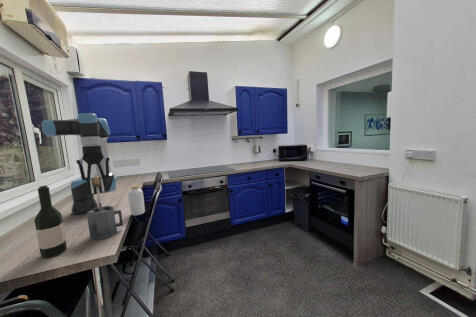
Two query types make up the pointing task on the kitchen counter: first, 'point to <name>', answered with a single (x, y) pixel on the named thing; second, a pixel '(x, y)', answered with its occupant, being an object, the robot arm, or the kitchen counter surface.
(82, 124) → the robot arm
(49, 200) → the wine bottle
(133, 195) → the white rounded cylinder
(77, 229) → the kitchen counter surface
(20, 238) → the kitchen counter surface
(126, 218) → the kitchen counter surface
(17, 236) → the kitchen counter surface
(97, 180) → the plunger
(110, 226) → the dark grey mug
